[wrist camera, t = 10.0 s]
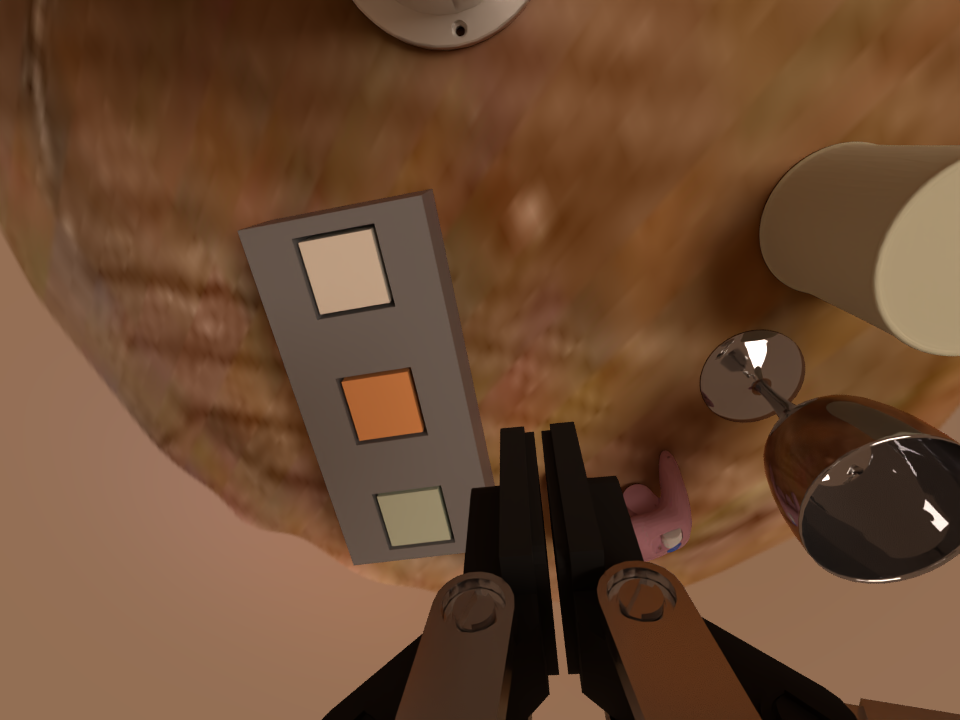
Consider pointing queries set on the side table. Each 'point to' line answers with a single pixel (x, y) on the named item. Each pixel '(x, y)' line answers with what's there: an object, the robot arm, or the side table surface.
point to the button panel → (378, 368)
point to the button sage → (415, 515)
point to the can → (874, 237)
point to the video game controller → (660, 511)
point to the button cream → (346, 269)
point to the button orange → (384, 403)
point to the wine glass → (843, 465)
